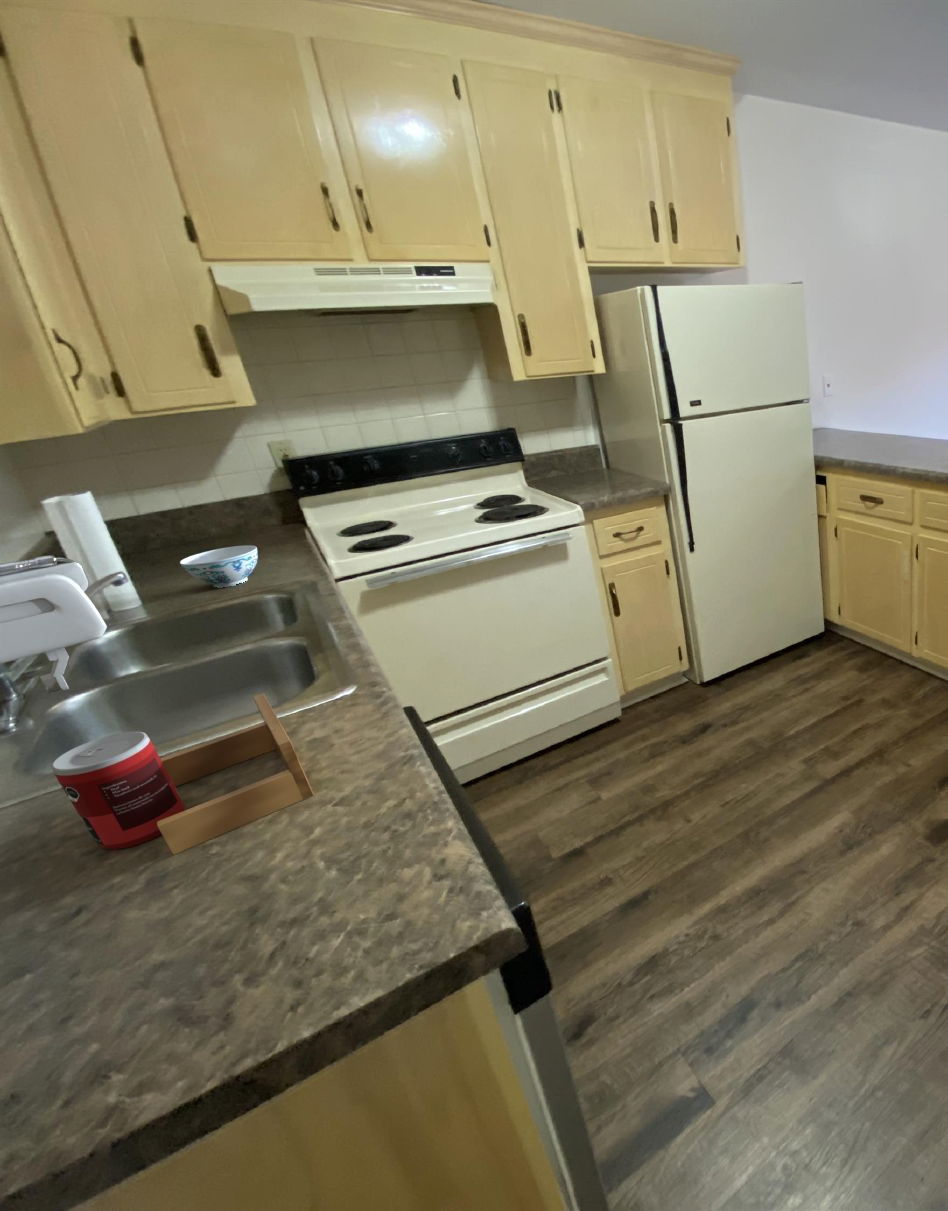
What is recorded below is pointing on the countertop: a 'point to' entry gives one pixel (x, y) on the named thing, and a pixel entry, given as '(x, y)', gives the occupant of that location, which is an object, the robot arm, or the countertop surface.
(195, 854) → the countertop surface
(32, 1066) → the countertop surface
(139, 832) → the canned food
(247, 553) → the chinaware
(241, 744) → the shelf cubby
